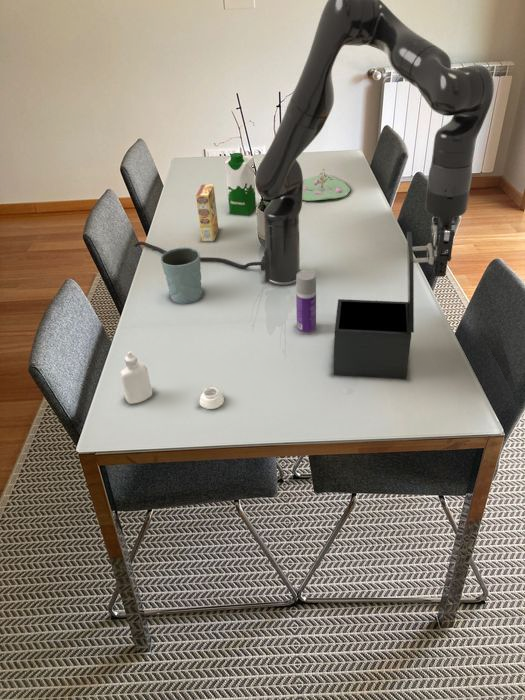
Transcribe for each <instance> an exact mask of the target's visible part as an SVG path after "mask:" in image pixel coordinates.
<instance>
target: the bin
mask: <svg viewBox="0 0 525 700" xmlns="http://www.w3.org/2000/svg"><path fill="white" fill-rule="evenodd" d="M333 336H334V337H333V339H334V342H333V344H334V345H333V373H332V375H333V376H343V377H358V378H359V377H360V378H376V379H377V378H378V379H391V380H392V379H394V380H407V375H408V368H409V359H410V351H411V350H410V349H411V343H412V333H410V330H409V313H408V301H393V300H392V301H390V300H389V301H388V300H367V299H366V300H364V299H344V298H338V299H337V306H336V314H335V323H334V335H333Z"/></svg>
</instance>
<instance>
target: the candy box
mask: <svg viewBox="0 0 525 700" xmlns="http://www.w3.org/2000/svg"><path fill="white" fill-rule="evenodd" d="M195 198H196V208H197V214H198V220H199V230H200V236H201V242H215V239H216V237H217V235H218V232H219V230H220V229H219V221H218V213H217V202H216V193H215V185H214V184H201V186H200V188H199V189H198V191H197V194H196V195H195Z"/></svg>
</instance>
